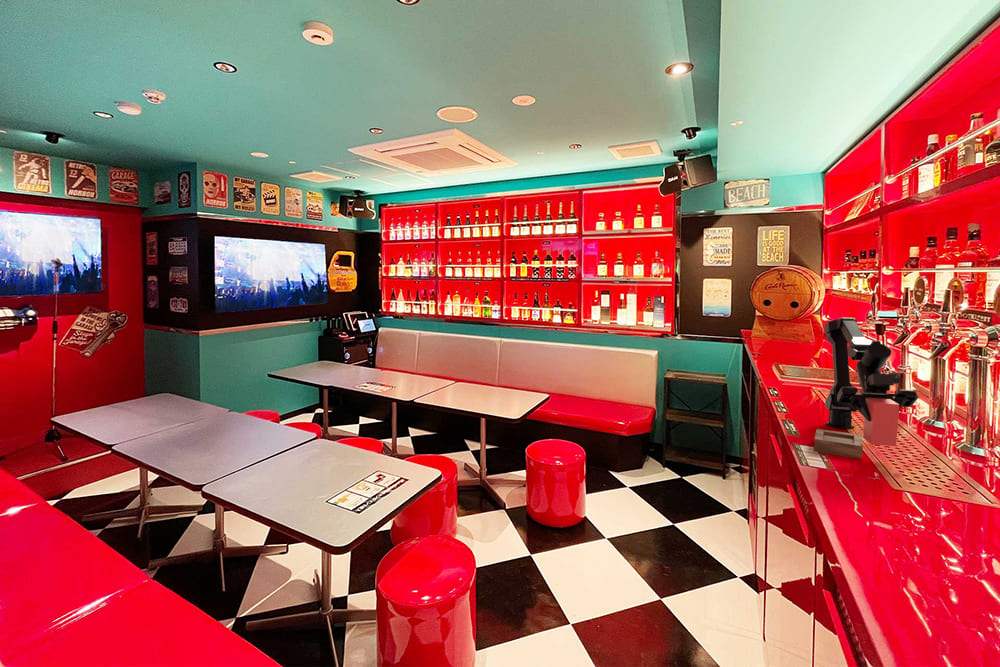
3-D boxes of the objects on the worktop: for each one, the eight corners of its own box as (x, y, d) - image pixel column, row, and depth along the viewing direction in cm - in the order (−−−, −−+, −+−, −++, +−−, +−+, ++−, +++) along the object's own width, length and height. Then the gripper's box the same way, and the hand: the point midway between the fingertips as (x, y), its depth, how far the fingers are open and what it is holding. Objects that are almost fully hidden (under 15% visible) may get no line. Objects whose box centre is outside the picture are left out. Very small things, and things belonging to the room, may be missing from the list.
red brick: (863, 437, 144) (865, 397, 142) (887, 439, 141) (890, 399, 140) (871, 444, 138) (873, 403, 136) (896, 446, 136) (899, 404, 134)
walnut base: (816, 440, 157) (816, 428, 157) (861, 447, 150) (862, 435, 149) (813, 451, 147) (814, 438, 147) (861, 459, 140) (862, 446, 140)
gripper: (842, 361, 144) (853, 405, 135) (917, 363, 137) (934, 410, 128) (832, 380, 152) (842, 423, 143) (903, 384, 146) (917, 429, 137)
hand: (882, 421), depth 138 cm, fingers closed on red brick, 6 cm apart
